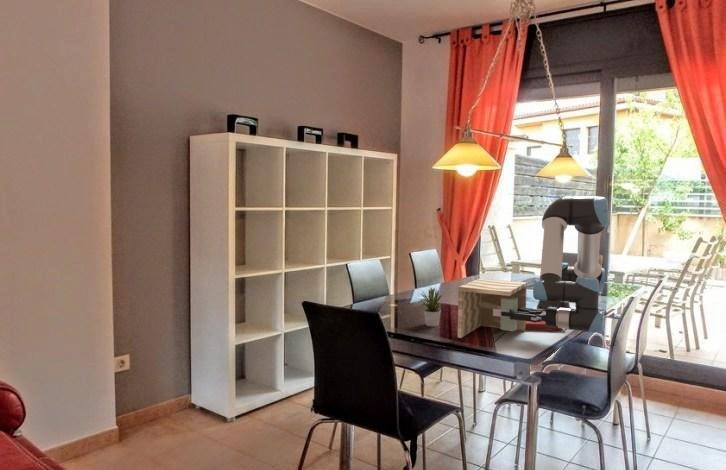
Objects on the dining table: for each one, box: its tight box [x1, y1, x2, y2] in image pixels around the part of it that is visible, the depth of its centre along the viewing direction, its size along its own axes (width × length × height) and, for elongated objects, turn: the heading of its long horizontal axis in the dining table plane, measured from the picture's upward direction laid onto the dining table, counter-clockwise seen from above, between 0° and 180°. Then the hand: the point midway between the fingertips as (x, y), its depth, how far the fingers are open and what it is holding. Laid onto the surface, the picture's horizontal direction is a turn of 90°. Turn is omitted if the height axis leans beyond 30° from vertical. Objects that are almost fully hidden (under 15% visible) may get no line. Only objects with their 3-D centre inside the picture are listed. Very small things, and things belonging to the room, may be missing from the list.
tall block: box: [499, 297, 518, 332], centre depth 205 cm, size 5×5×12 cm
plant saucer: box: [525, 321, 563, 332], centre depth 224 cm, size 18×18×3 cm
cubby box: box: [457, 278, 528, 339], centre depth 210 cm, size 24×20×20 cm
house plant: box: [417, 286, 447, 327], centre depth 225 cm, size 14×14×16 cm
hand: (495, 310), depth 208 cm, fingers closed on tall block, 5 cm apart
